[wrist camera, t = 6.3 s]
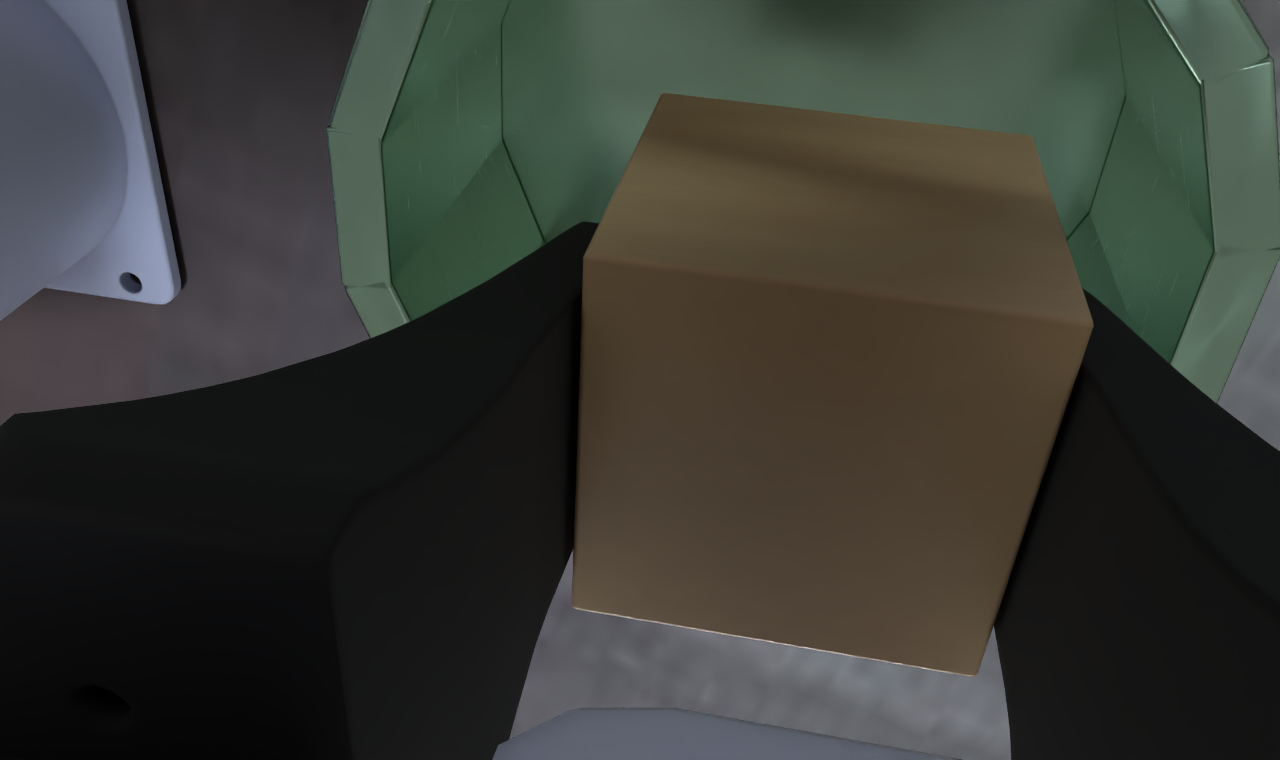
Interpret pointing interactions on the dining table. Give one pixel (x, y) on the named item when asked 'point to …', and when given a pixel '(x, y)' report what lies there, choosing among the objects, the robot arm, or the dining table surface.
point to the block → (820, 379)
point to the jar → (824, 81)
